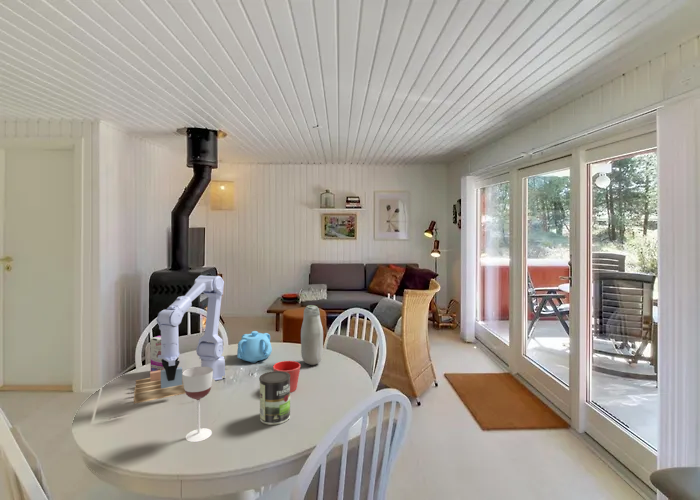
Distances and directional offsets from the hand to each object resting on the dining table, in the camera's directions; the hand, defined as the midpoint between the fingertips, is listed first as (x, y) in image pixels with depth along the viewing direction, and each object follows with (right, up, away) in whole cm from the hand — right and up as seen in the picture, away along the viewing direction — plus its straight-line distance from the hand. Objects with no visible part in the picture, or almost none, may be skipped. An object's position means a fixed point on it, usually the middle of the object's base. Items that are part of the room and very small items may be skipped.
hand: (170, 379), depth 133 cm
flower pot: (+40, -9, +12) cm, 43 cm away
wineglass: (+19, -10, -21) cm, 30 cm away
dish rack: (-8, -8, +9) cm, 15 cm away
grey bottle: (+48, -7, +40) cm, 63 cm away
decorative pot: (+19, -7, +47) cm, 51 cm away
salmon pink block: (-10, -7, +13) cm, 18 cm away
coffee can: (+40, -10, -10) cm, 42 cm away
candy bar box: (-16, -8, +26) cm, 32 cm away
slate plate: (0, -3, 0) cm, 3 cm away
